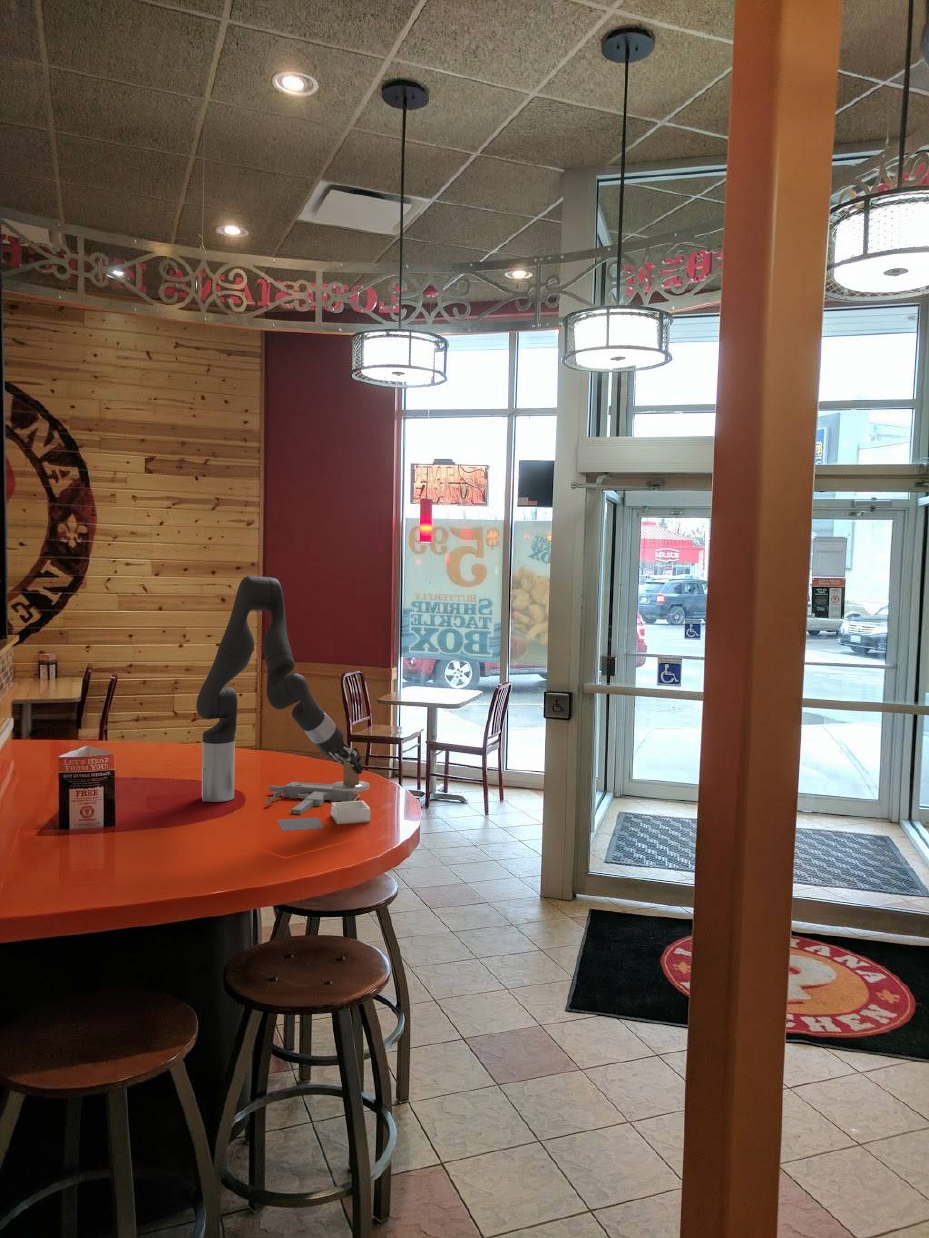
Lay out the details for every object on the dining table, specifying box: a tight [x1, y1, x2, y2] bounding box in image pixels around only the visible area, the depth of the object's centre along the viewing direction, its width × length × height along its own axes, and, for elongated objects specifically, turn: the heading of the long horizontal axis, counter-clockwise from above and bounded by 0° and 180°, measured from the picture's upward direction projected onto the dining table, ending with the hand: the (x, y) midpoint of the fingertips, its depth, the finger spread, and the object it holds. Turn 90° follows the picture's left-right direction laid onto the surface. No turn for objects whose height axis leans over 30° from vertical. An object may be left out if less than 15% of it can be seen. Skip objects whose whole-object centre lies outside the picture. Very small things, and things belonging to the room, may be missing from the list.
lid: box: [332, 759, 370, 793], centre depth 245 cm, size 10×10×9 cm
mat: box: [276, 816, 325, 832], centre depth 240 cm, size 11×11×1 cm
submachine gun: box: [265, 781, 361, 815], centre depth 263 cm, size 4×28×25 cm
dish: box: [330, 800, 371, 825], centre depth 246 cm, size 9×9×4 cm
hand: (356, 770), depth 247 cm, fingers closed on lid, 3 cm apart
